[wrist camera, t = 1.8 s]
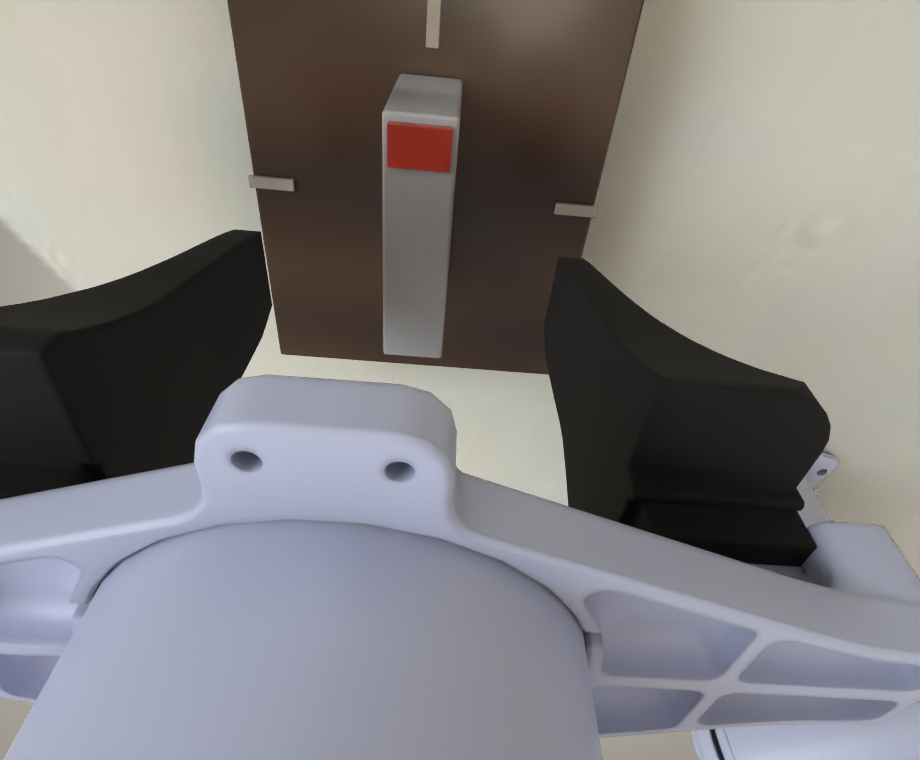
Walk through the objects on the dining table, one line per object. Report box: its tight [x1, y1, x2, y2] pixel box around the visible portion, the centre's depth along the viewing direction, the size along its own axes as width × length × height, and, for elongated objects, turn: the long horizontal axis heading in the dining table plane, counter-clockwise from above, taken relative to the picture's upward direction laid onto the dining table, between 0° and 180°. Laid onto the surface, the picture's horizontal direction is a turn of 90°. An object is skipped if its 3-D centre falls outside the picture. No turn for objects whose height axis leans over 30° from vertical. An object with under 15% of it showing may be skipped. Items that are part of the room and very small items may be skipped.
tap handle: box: [382, 74, 462, 358], centre depth 16 cm, size 7×2×4 cm, turn 175°
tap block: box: [227, 0, 644, 374], centre depth 19 cm, size 14×11×3 cm
